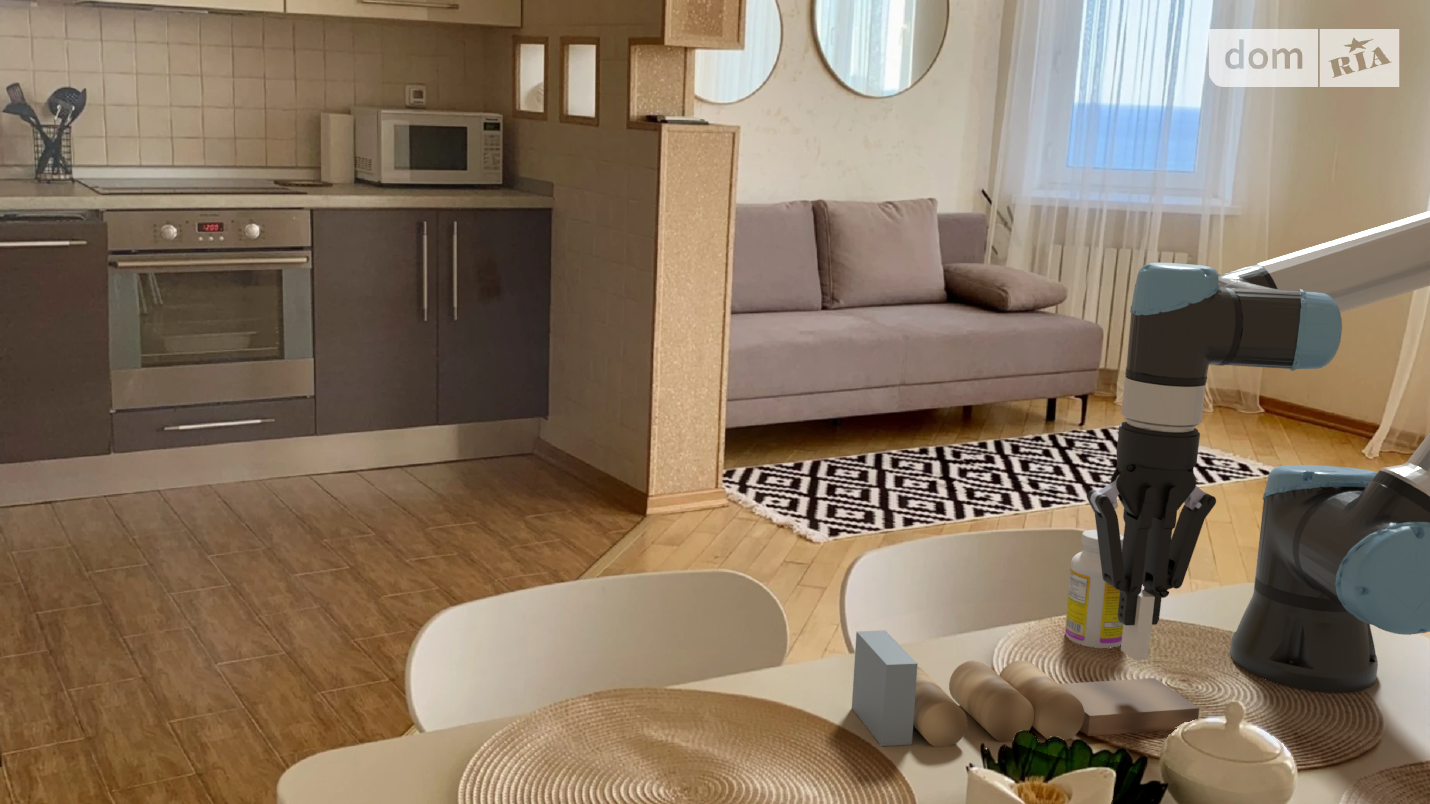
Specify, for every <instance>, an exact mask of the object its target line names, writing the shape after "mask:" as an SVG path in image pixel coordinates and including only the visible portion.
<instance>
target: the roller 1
mask: <svg viewBox="0 0 1430 804" xmlns="http://www.w3.org/2000/svg"><path fill="white" fill-rule="evenodd" d="M967 727H968V718H967V714H966V713H965V711H964V709H963V708H962V707H961V706H960V705H959V704H958V703H957V702H956V701H955V700H954V699H953V698H952V697H950V695H948V693H947V692H946V691H945V690H943V688H941V686H940V685H939V684H937V683H936V682H935V680H934V679H933V678H931V676H929V674H927V672H925V670H924V669H922V668H921V667H920V666H918V665H917V679H916V693H915V707H914V721H913V728H915V729H916V730H917V731H918V733H919V734H920V735H921V736H923V738H924V739H925V740H926V742H928V744H930V745H931V746H933V747H936V748H939V747H941V748H942V747H953V746H954V745H956V744H957V743H958V742H959V741H961V740H962V739H963V737H964V735H965V734H966V731H967Z"/></svg>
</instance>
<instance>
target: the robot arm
mask: <svg viewBox="0 0 1430 804" xmlns="http://www.w3.org/2000/svg"><path fill="white" fill-rule="evenodd" d="M1427 287H1430V210H1429V211H1428V210H1427V211H1425V212H1421V213H1418V214H1416V215H1412V216H1409V217H1406V218H1403V219H1399V220H1395V221H1392V222H1389V223H1386V224H1382V225H1380V226H1377V227H1376V226H1375V227H1373V228H1369V229H1367V230H1363V231H1359V232H1357V233H1353V234H1349V235H1347V236H1346V235H1345V236H1344V237H1341V238H1340V237H1339V238H1337V239H1334V240H1331V241H1327V242H1324V243H1321V244H1317V245H1314V246H1310V247H1307V248H1304V249H1301V250H1298V251H1294V252H1292V253H1288V254H1285V255H1282V256H1278V257H1274V258H1272V259H1268V260H1265V261H1261V262H1258V263H1256V264H1253V265H1251V266H1250V265H1249V266H1246V267H1241V268H1238V269H1235V270H1232V271H1228V272H1225V273H1222V274H1220V273H1218V271H1217V270H1216V269H1215V268H1214V267H1212V266H1208V265H1207V266H1206V265H1201V264H1190V263H1186V264H1185V263H1177V262H1176V263H1175V262H1150V263H1146V264H1145V265H1143V266H1141V268H1140V269H1139V270H1138V272H1137V276H1136V280H1135V284H1134V290H1133V295H1132V302H1131V305H1130V308H1129V309H1130V310H1129V312H1130V323H1129V332H1128V333H1129V334H1128V342H1127V344H1128V345H1127V355H1126V356H1127V357H1126V366H1125V376H1124V380H1123V381H1124V382H1123V392H1122V401H1121V411H1120V414H1121V416H1122V417H1124V419H1126V420H1123V421H1122V422H1121V423H1120V424H1119V427H1118V435H1117V446H1116V454H1115V455H1116V462H1117V463H1116V468H1115V470H1114V471H1113V473H1112V475H1111V476H1110V477H1111V478H1110V483H1109V484H1108V485H1106V486H1104V487H1103V488H1101V489H1100V490H1098V491H1096V489H1091V490H1089V491H1088V493H1087V494H1086V500H1087V501H1088V503H1089V505H1090V507H1091V509H1092V511H1093V513H1094V518H1095V526H1096V530H1097V536H1098V544H1099V552H1100V560H1101V568H1102V576H1103V580H1104V581H1105V582H1106V583H1108V584H1109V585H1111V586H1113V587H1114V588H1116V589H1118V590H1120V598H1119V607H1118V620H1119V621H1120V622H1121V623H1123V624H1124V625H1123V634H1122V643H1121V646H1120V651H1121V652H1123V654H1125V655H1127V656H1128V657H1130V658H1131V660H1133V661H1140V660H1141V661H1143V660H1148V659H1149V651H1150V642H1151V634H1152V625H1153V626H1155V625H1156V626H1157V624H1159V621H1160V617H1161V616H1160V614H1161V606H1162V599H1165V598H1166V597H1168V596H1169V594H1170V591H1169V590H1171V589H1180V588H1181V587H1182V585H1183V583H1184V580H1185V577H1186V574H1187V572H1188V570H1189V569H1188V568H1189V566H1190V562H1191V560H1192V556H1193V554H1194V550H1195V549H1196V545H1197V542H1198V539H1199V536H1200V533H1201V531H1202V528H1203V525H1204V523H1205V520H1206V518H1207V517H1208V515H1209V514H1210V512H1211V511H1212V510H1213V508H1214V507H1215V505H1216V504H1217V499H1216V497H1215V496H1213V495H1211V494H1209V493H1207V492H1205V491H1203V490H1202V489H1200V488H1199V487H1198V486H1197V478H1196V475H1195V472H1194V467H1196V464H1197V462H1198V456H1199V455H1198V454H1199V446H1200V445H1199V444H1200V438H1201V437H1200V436H1201V433H1200V432H1199V430H1198V429H1197V428H1196V427H1197V426H1199V425H1200V424H1201V423H1203V417H1204V415H1203V413H1204V405H1205V395H1206V394H1205V393H1206V384H1207V382H1208V381H1207V380H1208V371H1209V366H1211V365H1213V366H1220V367H1222V366H1223V367H1224V366H1234V367H1235V366H1237V367H1252V368H1253V367H1254V368H1267V369H1268V368H1269V369H1284V370H1285V369H1287V370H1290V371H1291V372H1292V371H1296V370H1314V369H1315V370H1316V369H1321V368H1324V367H1326V366H1328V364H1330V363H1331V361H1333V359H1334V358H1335V357H1336V354H1337V353H1338V351H1339V347H1340V344H1341V339H1342V333H1343V332H1342V331H1343V319H1342V318H1343V317H1342V313H1343V312H1348V311H1350V310H1354V309H1356V308H1357V309H1358V308H1361V307H1363V306H1367V305H1371V304H1374V303H1377V302H1380V301H1384V300H1387V299H1389V298H1393V297H1396V296H1400V295H1403V294H1406V293H1410V292H1413V291H1416V290H1420V289H1424V288H1427ZM1117 499H1118V500H1119V502H1120V503H1121V505H1122V506H1123V513H1122V518H1123V521H1124V529H1123V530H1124V531H1123V536H1124V537H1123V546H1122V548H1121V540H1120V534H1121V532H1120V524H1119V517H1118V514H1117V511H1116V509H1118V507H1119V505H1118V500H1117ZM1262 500H1263V504H1262V512H1261V520H1260V521H1261V523H1260V529H1259V530H1260V531H1259V532H1260V533H1259V542H1258V549H1257V559H1256V569H1255V576H1254V577H1255V578H1254V586H1253V593H1252V596H1251V598H1250V600H1249V602H1248V605H1246V606H1247V607H1246V609H1245V610H1244V613H1243V615H1242V616H1241V619H1240V622H1239V624H1238V626H1237V628H1236V631H1235V632H1234V633H1233V634H1232V636H1231V640H1230V648H1229V650H1230V651H1229V655H1230V654H1231V656H1230V658H1231V657H1232V658H1233V660H1234V661H1235V662H1236V663H1235V662H1234V661H1233V660H1232V661H1233V662H1234V663H1235V664H1236V665H1237V664H1238V665H1239V666H1238V665H1237V666H1238V667H1240V668H1241V669H1242V668H1243V669H1242V670H1244V669H1245V670H1244V671H1245V672H1247V671H1248V673H1249V672H1250V673H1249V674H1251V675H1252V676H1255V675H1256V676H1255V677H1257V676H1258V677H1257V678H1259V679H1262V678H1264V679H1266V680H1265V681H1267V682H1270V681H1271V682H1270V683H1273V682H1274V683H1273V684H1276V685H1279V686H1283V687H1287V688H1292V689H1294V690H1295V689H1296V690H1300V691H1305V692H1312V693H1320V694H1321V693H1322V694H1323V693H1325V694H1351V693H1359V692H1363V691H1365V690H1367V689H1371V687H1373V686H1374V685H1375V683H1376V682H1377V675H1378V669H1379V668H1378V667H1379V660H1378V657H1377V655H1376V649H1375V643H1374V638H1373V634H1372V629H1371V625H1372V626H1374V627H1376V628H1378V629H1381V630H1383V631H1384V632H1389V633H1392V634H1395V635H1405V636H1406V635H1407V636H1408V635H1409V636H1410V635H1418V634H1419V635H1420V634H1426V633H1430V432H1429V433H1428V434H1427V435H1426V437H1425V438H1424V439H1423V441H1422V442H1421V443H1420V444H1419V446H1418V447H1417V448H1416V449H1415V451H1414V452H1413V453H1412V455H1411V456H1410V457H1409V459H1408V460H1407V461H1406V462H1404V463H1403V464H1398V465H1392V466H1385V467H1382V468H1380V469H1379V470H1378V471H1374V470H1369V469H1363V468H1354V467H1345V466H1333V465H1317V464H1315V465H1314V464H1287V465H1286V464H1285V465H1280V466H1277V467H1276V466H1275V468H1273V469H1272V470H1271V471H1270V472H1269V474H1268V476H1267V481H1266V485H1265V489H1264V493H1263V494H1262ZM1183 504H1184V505H1183ZM1182 505H1183V506H1182ZM1181 507H1182V508H1181ZM1180 508H1181V511H1180V512H1179V515H1178V510H1179V509H1180ZM1177 517H1178V518H1177ZM1232 658H1231V659H1232ZM1264 679H1263V680H1264Z"/></svg>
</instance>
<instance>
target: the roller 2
mask: <svg viewBox="0 0 1430 804" xmlns="http://www.w3.org/2000/svg"><path fill="white" fill-rule="evenodd" d="M999 675H1000V674H998V673H997V672H996V671H995V670H993V669H992V668H991V667H990V666H989V665H988V664H987V663H985V662H984V661H980V660H975V659H974V660H968V661H965V662H963V663H961V664H959V665H958V666H957V667H956V668H955V669H954V671H953V672H952V673H951V676H950V679H949V681H948V688H949V689H948V690H949V693H950V696H951V699H952V700H953V701H954V702H955V703H956V704H957V705H958V706H959V707H960V708H961V709H962V710H963V711H964V710H965V711H964V712H966V713H967V714H969V716H971V718H973V719H974V720H975V721H976V722H977V723H978V724H979V725H980V726H981V727H982V728H983V729H984V730H985V731H986V732H987V733H988V734H990V736H991V737H993V739H995V740H997V741H999V742H1001V743H1005V742H1013V741H1012V740H1013V738H1014V736H1015V733H1017V732H1018V731H1020V730H1029V731H1030V730H1031V728H1032V727H1033V726H1032V724H1033V721H1034V710H1033V707H1032V705H1031V703H1030V702H1029V701H1028V700H1027V699H1026V698H1025V697H1024V696H1023V695H1021V694H1020V693H1019V692H1018V691H1017V690H1016V689H1014V688H1013V687H1012V686H1011V685H1010V684H1008V683H1007V682H1006V681H1005V680H1004V679H1003V678H1001V677H1000V676H999Z"/></svg>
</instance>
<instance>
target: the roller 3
mask: <svg viewBox="0 0 1430 804" xmlns="http://www.w3.org/2000/svg"><path fill="white" fill-rule="evenodd" d="M998 675H999V676H1000V677H1001V678H1003V679H1004V680H1005V681H1006V682H1007V683H1008V684H1010V685H1011V686H1012V687H1013V688H1014V689H1016V690H1017V691H1018V692H1019V693H1020V694H1021V695H1023V696H1024V697H1025V698H1026V699H1027V700H1028V701H1029V702H1030V703H1031V705H1032V707H1033V710H1034V721H1033V724H1032V726H1031V727H1033V728H1034V729H1035V730H1036V731H1037V732H1038V733H1040V734H1041V735H1042V736H1043V737H1044V738H1045V739H1047V740H1048V738H1049V737H1050V736H1059V737H1061V738H1062V739H1064V740H1065V741H1069V740H1070V739H1072V738H1073V737H1075V736H1076V735H1077V734H1078V733H1079V731H1081V730H1080V729H1081V727H1082V725H1083V722H1084V716H1085V713H1084V708H1083V705H1082V703H1081V702H1080V701H1079V700H1078V699H1077V698H1076V697H1075V696H1073V695H1072V694H1071V693H1069V692H1068V691H1067V690H1066V689H1064V688H1063V687H1062V686H1060V685H1059V684H1060V683H1058V682H1057V681H1056V680H1054V679H1052V678H1051V677H1050V676H1049V675H1048V674H1046V673H1045V672H1044V671H1042V670H1041V669H1040V668H1038V666H1036V665H1035V664H1034V663H1033V662H1031V661H1028V660H1024V659H1022V660H1021V659H1019V660H1015V661H1013V662H1010V663H1008V664H1007V665H1006V666H1004V668H1003V669H1002V670H1001V671H1000V673H999V674H998Z"/></svg>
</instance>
